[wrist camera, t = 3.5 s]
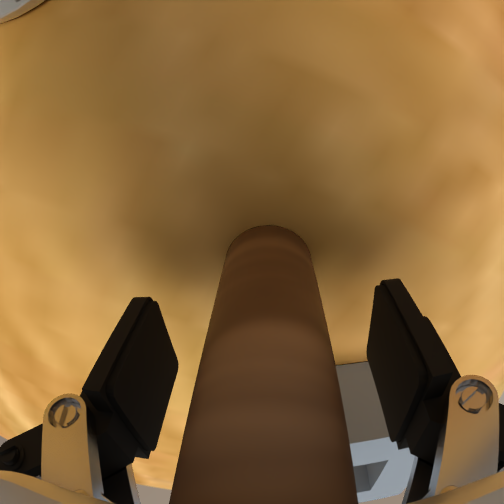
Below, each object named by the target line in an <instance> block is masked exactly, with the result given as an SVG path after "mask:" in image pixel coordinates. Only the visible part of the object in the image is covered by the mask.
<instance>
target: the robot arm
mask: <svg viewBox="0 0 504 504" xmlns="http://www.w3.org/2000/svg"><path fill="white" fill-rule="evenodd" d="M43 1H45V0H0V23H4V22H6V21H9V20H11V19H14V18H16V17H19V16H21V15H22V14H24V13H26V12H27V11H29V10H31V9H33V8H35V7H36V6H38V5H39V4H40V3H42V2H43ZM367 359H368V363H369V366H370V369H371V372H372V376H373V379H374V382H375V386H376V389H377V393H378V396H379V400H380V403H381V407H382V411H383V414H384V418H385V422H386V426H387V430H388V433H389V437H390V440H391V442H396V443H397V447H398V450H401V449H405V448H409V450H410V454H412V455H414V456H415V457H414V461H413V465H412V469H411V473H410V477H409V481H408V484H407V488H406V491H405V495H404V498H403V501H402V504H504V405H502V404H500V403H499V400H498V394H497V390H496V389H495V387H494V385H493V384H492V383H491V382H490V381H489V380H487V379H485V378H483V377H481V376H477V375H466V376H463V377H461V376H460V374H459V372H458V370H457V368H456V366H455V364H454V362H453V361H452V359H451V357H450V355H449V353H448V351H447V350H446V348H445V346H444V344H443V342H442V341H441V339H440V337H439V335H438V334H437V332H436V330H435V328H434V327H433V325H432V323H431V322H430V320H429V319H428V318H427V317H425V316H422V314H421V312H420V311H419V309H418V307H417V306H416V304H415V302H414V301H413V299H412V297H411V296H410V294H409V293H408V291H407V289H406V288H405V286H404V285H403V283H402V281H401V280H400V279H389V280H382V281H381V283H380V285H377V286H376V287H375V292H374V300H373V309H372V316H371V324H370V331H369V337H368V344H367ZM177 372H178V360H177V357H176V354H175V351H174V349H173V346H172V343H171V340H170V337H169V334H168V332H167V329H166V326H165V323H164V320H163V317H162V314H161V311H160V308H159V305H158V303H157V302H156V301H153V299H152V298H151V297H135V298H133V299H132V300H131V302H130V303H129V305H128V307H127V309H126V310H125V312H124V314H123V315H122V317H121V319H120V320H119V322H118V324H117V326H116V327H115V329H114V331H113V333H112V334H111V336H110V338H109V340H108V341H107V343H106V345H105V347H104V349H103V350H102V352H101V354H100V356H99V358H98V359H97V361H96V363H95V365H94V367H93V369H92V371H91V372H90V374H89V376H88V378H87V380H86V382H85V384H84V386H83V388H82V390H83V391H82V393H81V395H80V396H78V395H76V394H63V395H61V396H58V397H57V398H55V399H53V400H52V401H51V402H50V403H49V404H48V406H47V408H46V409H45V412H44V417H43V424H41V425H39V426H37V427H35V428H33V429H30V430H28V431H26V432H24V433H22V434H20V435H18V436H16V437H14V438H12V439H10V440H8V441H6V442H5V443H3V444H2V446H1V447H0V504H141V503H140V499H139V495H138V491H137V487H136V482H135V478H134V473H133V469H132V464H131V463H133V461H134V458H135V457H140V458H146V459H149V455H150V452H151V451H154V450H155V449H156V446H157V442H158V439H159V435H160V431H161V428H162V424H163V421H164V417H165V413H166V410H167V406H168V403H169V399H170V396H171V392H172V389H173V385H174V382H175V379H176V375H177Z"/></svg>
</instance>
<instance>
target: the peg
mask: <svg viewBox="0 0 504 504" xmlns="http://www.w3.org/2000/svg"><path fill="white" fill-rule="evenodd" d="M169 504H358V497H357V490H356V482H355V475H354V468H353V462H352V455H351V449H350V442H349V436H348V430H347V424H346V419H345V413H344V407H343V402H342V397H341V391H340V386H339V381H338V376H337V371H336V366H335V361H334V356H333V351H332V346H331V342H330V337H329V332H328V328H327V323H326V319H325V314H324V310H323V306H322V301H321V297H320V293H319V288H318V284H317V280H316V276H315V272H314V268H313V264H312V260H311V256H310V252H309V250H308V247H307V246H306V244H305V243H304V241H303V240H302V239H301V238H300V237H299V236H298V235H296V234H295V233H294V232H292V231H290V230H288V229H285V228H283V227H279V226H271V225H266V226H258V227H255V228H252V229H249V230H247V231H245V232H243V233H242V234H241V235H239V236H238V237H237V238H236V239H235V240H234V241H233V243H232V244H231V246H230V248H229V249H228V252H227V255H226V259H225V263H224V267H223V271H222V275H221V279H220V283H219V287H218V291H217V295H216V299H215V303H214V307H213V311H212V315H211V319H210V323H209V327H208V332H207V336H206V340H205V344H204V348H203V352H202V357H201V361H200V365H199V369H198V374H197V378H196V382H195V387H194V391H193V395H192V400H191V404H190V408H189V413H188V417H187V422H186V426H185V431H184V435H183V440H182V445H181V449H180V454H179V458H178V463H177V468H176V473H175V477H174V482H173V487H172V492H171V497H170V502H169Z"/></svg>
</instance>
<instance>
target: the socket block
mask: <svg viewBox="0 0 504 504" xmlns="http://www.w3.org/2000/svg"><path fill="white" fill-rule="evenodd" d="M336 371H337V376H338V381H339V386H340V391H341V397H342V402H343V407H344V413H345V419H346V424H347V430H348V436H349V442H350V449H351V455H352V462H353V468H354V475H355V482H356V490H357V497H358V503H360V502H366V501H371V500H376V499H381V498H385V497H389V496H394V495H398V494H400V493H401V492H402V491H403V490H404V489H405V488H406V487H407V484H408V481H409V477H410V473H411V469H412V465H413V461H414V457H415V456H414V455H412V454H410V450H409V448H405V449H401V450H398V447H397V443H396V442H391V440H390V437H389V433H388V430H387V426H386V422H385V418H384V414H383V411H382V407H381V403H380V400H379V396H378V393H377V389H376V386H375V382H374V379H373V376H372V372H371V369H370V366H369V363H368V362H361V363H354V364H346V365H337V366H336Z"/></svg>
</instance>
